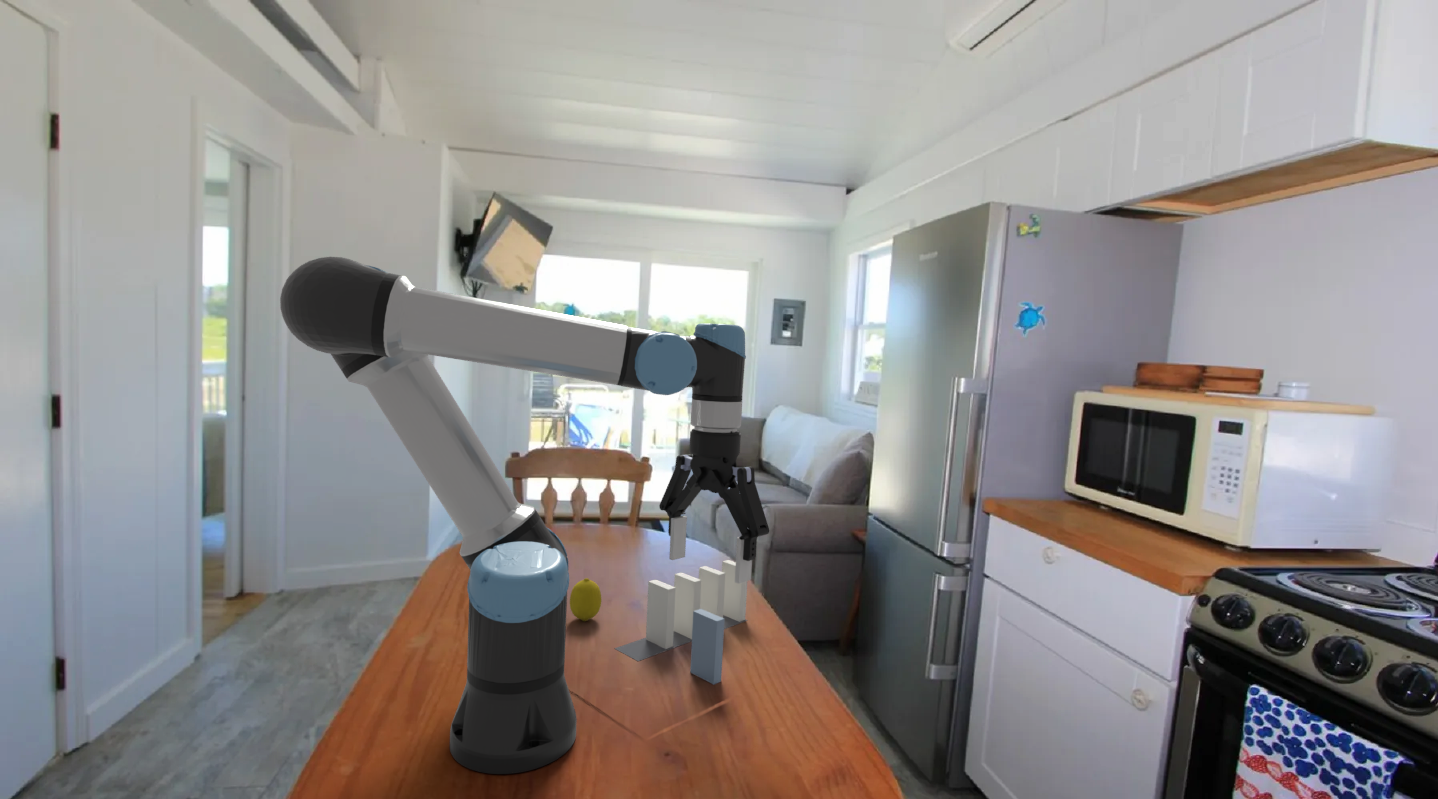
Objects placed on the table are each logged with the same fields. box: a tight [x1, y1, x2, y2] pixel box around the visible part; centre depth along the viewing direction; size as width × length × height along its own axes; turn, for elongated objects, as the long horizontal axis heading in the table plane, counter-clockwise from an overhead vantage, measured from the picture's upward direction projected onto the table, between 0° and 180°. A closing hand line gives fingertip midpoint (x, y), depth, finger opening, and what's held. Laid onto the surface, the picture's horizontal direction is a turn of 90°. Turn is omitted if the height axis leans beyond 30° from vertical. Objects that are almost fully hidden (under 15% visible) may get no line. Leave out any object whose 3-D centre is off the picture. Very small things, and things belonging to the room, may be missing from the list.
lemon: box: [569, 577, 602, 622], centre depth 124 cm, size 6×6×8 cm
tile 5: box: [721, 559, 748, 622], centre depth 129 cm, size 2×5×10 cm, turn 46°
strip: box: [614, 615, 748, 662], centre depth 120 cm, size 26×6×1 cm, turn 136°
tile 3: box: [673, 572, 701, 639], centre depth 120 cm, size 2×5×10 cm, turn 46°
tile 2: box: [645, 579, 676, 649], centre depth 116 cm, size 2×5×10 cm, turn 46°
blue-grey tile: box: [689, 609, 725, 686], centre depth 105 cm, size 2×5×10 cm, turn 46°
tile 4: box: [698, 565, 725, 618], centre depth 124 cm, size 2×5×10 cm, turn 46°
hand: (708, 569), depth 104 cm, fingers open, 13 cm apart
